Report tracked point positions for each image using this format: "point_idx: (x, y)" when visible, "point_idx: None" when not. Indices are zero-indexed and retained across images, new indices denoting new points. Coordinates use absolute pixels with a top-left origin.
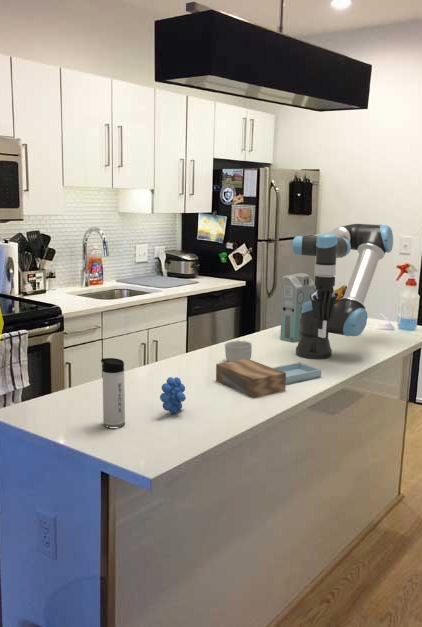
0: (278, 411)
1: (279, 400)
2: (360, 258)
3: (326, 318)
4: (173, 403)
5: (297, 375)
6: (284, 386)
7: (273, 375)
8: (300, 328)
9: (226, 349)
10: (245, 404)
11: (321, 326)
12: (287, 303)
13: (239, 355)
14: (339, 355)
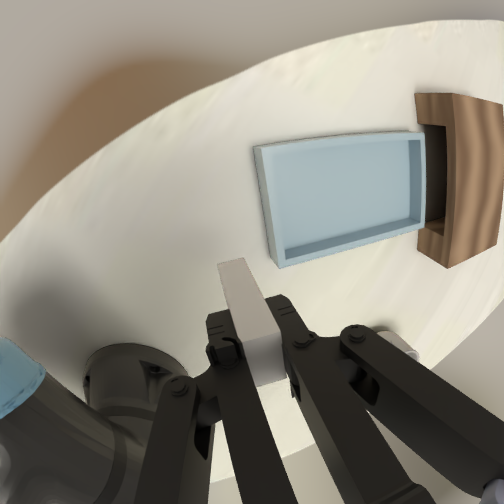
0: (459, 22)
1: (444, 56)
2: None
3: (246, 361)
4: None
5: (370, 134)
6: (425, 93)
7: (475, 98)
8: None
9: None
10: (485, 85)
11: (277, 308)
12: None
13: (399, 338)
14: (63, 356)
